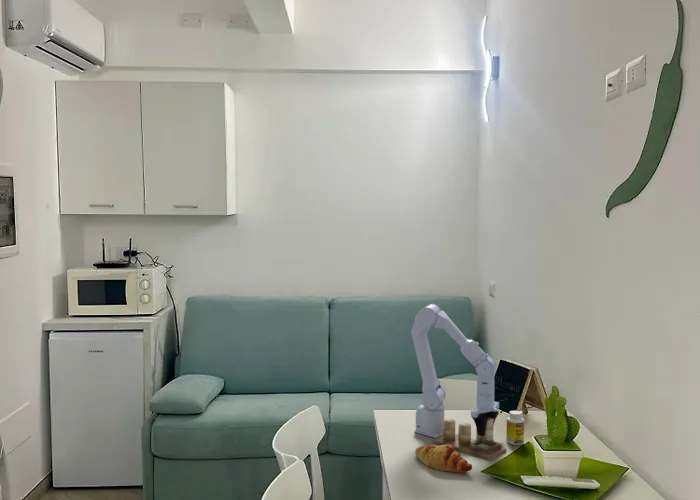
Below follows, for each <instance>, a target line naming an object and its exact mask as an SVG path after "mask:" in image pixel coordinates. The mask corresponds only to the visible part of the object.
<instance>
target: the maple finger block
mask: <svg viewBox="0 0 700 500" xmlns="http://www.w3.org/2000/svg"><path fill="white" fill-rule="evenodd" d="M493 421H494V419H493V418H488V421H487V424H486V430H485V435H484V436H480V435H478V432H477V430H476V432H475V433H476V435H475V436H476V439H475V440H478V439H480V438H482V439H485V440H489V441H492V440H494V425H493Z"/></svg>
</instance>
